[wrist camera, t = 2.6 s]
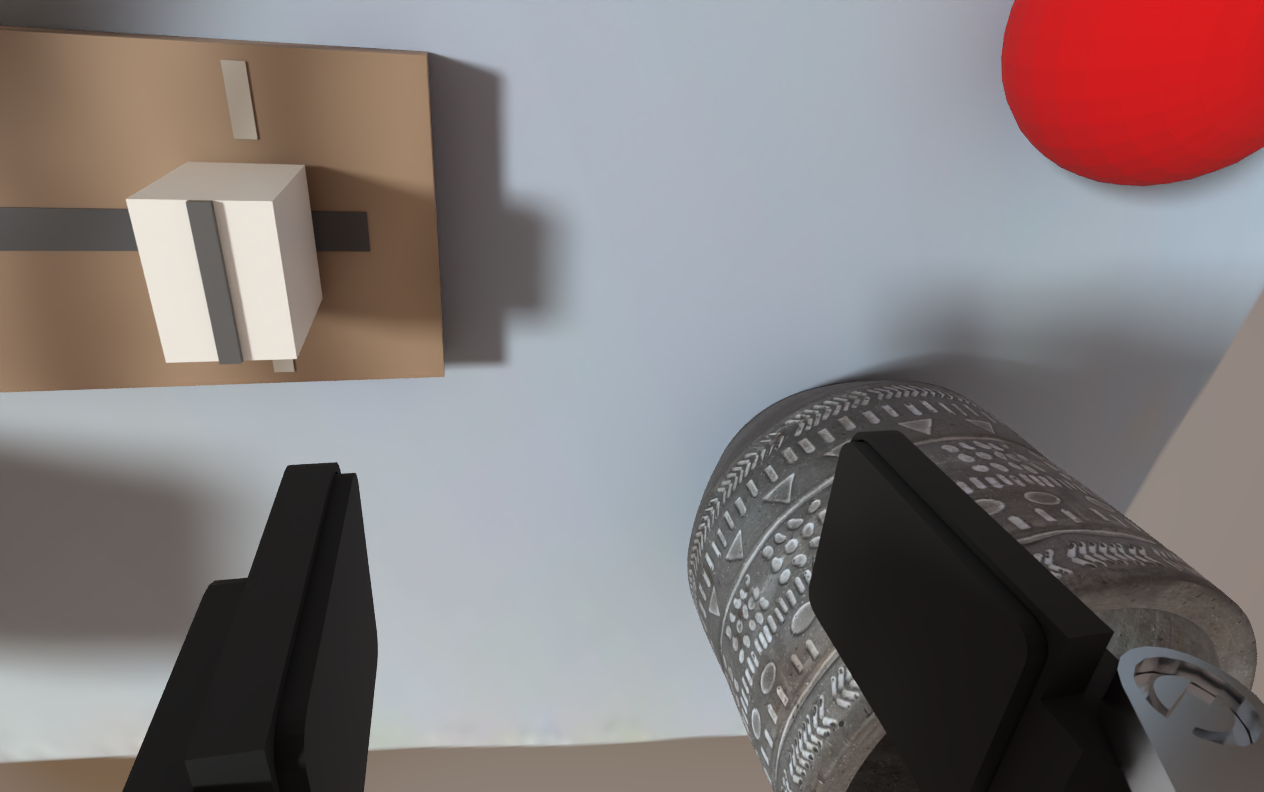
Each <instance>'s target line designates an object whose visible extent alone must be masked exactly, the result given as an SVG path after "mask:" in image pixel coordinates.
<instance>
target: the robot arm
mask: <svg viewBox="0 0 1264 792" xmlns="http://www.w3.org/2000/svg"><path fill="white" fill-rule="evenodd" d="M809 600H810V605H811V608H812V610H813V612H814V614H815V616H816V617H817V619H818V621H819V622H820V624H821V626H822V627H823V629H824V631H825V632H826V634H827V636H828V637H829V639H830V640H831V642H832V644H833V645H834V647H835V649H836V650H837V652H838V654H839V655H840V657H841V659H842V660H843V662H844V664H845V665H846V667H847V669H848V670H849V672H850V674H851V675H852V677H853V678H854V680H855V682H856V683H857V685H858V687H859V688H860V690H861V692H862V693H863V695H864V697H865V698H866V700H867V702H868V703H869V705H870V707H871V708H872V710H873V712H874V713H875V715H876V716H877V718H878V720H879V721H880V723H881V725H882V726H883V728H884V730H885V731H886V733H887V735H888V736H889V738H890V740H891V741H892V743H893V745H894V746H895V748H896V749H897V751H898V753H899V754H900V756H901V758H902V759H903V761H904V763H905V764H906V766H907V768H908V769H909V771H910V773H911V774H912V776H913V778H914V779H915V781H916V783H917V784H918V786H919V787H920V789H921V791H922V792H1264V704H1263V703H1262V701H1261V700H1260V699H1259V698H1258V697H1257V696H1256V695H1255V694H1254V693H1253V692H1252V691H1250V690H1249V689H1248V688H1247V687H1245V686H1244V685H1243V684H1242V683H1240V682H1239V681H1238V680H1237V679H1235V678H1234V677H1232V676H1230V675H1229V674H1227V673H1225V672H1224V671H1222V670H1220V669H1219V668H1217V667H1215V666H1214V665H1212V664H1210V663H1208V662H1205V661H1203V660H1201V659H1198V658H1196V657H1194V656H1191V655H1189V654H1186V653H1183V652H1179V651H1175V650H1172V649H1168V648H1162V647H1149V646H1144V647H1139V648H1134V649H1130V650H1129V651H1127V652H1126V653H1125V654H1124V655H1122V656H1121V657H1120V659H1119V660H1118V659H1117V658H1116V657H1115V656H1114V655H1113V654H1112V653H1111V652H1110V651H1109V650H1108V649H1107V646H1108V644H1109V642H1110V640H1111V638H1112V636H1113V634H1114V631H1113V630H1112V629H1111V628H1110V627H1109V626H1108V625H1106V624H1105V623H1104V622H1103V621H1102V620H1101V619H1100V618H1099V617H1098V616H1097V615H1096V614H1095V613H1094V612H1093V611H1092V610H1090V609H1089V608H1088V607H1087V606H1086V605H1085V604H1084V603H1083V602H1082V601H1081V600H1080V599H1079V598H1078V597H1077V596H1076V595H1074V594H1073V593H1072V592H1071V591H1070V590H1069V589H1068V588H1067V587H1066V586H1065V585H1064V584H1063V583H1062V582H1061V581H1060V580H1058V579H1057V578H1056V577H1055V576H1054V575H1053V574H1052V573H1051V572H1050V571H1049V570H1048V569H1047V568H1046V567H1045V566H1043V565H1042V564H1041V563H1040V562H1039V561H1038V560H1037V559H1036V558H1035V557H1034V556H1033V555H1032V554H1031V553H1030V552H1029V551H1027V550H1026V549H1025V548H1024V547H1023V546H1022V545H1021V544H1020V543H1019V542H1018V541H1017V540H1016V539H1015V538H1014V537H1013V536H1011V535H1010V534H1009V533H1008V532H1007V531H1006V530H1005V529H1004V528H1003V527H1002V526H1001V525H1000V524H999V523H998V522H997V521H995V520H994V519H993V518H992V517H991V516H990V515H989V514H988V513H987V512H986V511H985V510H984V509H983V508H982V507H981V506H979V505H978V504H977V503H976V502H975V501H974V500H973V499H972V498H971V497H970V496H969V495H968V494H967V493H966V492H965V491H963V490H962V489H961V488H960V487H959V486H958V485H957V484H956V483H955V482H954V481H953V480H952V479H951V478H950V477H949V476H947V475H946V474H945V473H944V472H943V471H942V470H941V469H940V468H939V467H938V466H937V465H936V464H935V463H934V462H933V461H931V460H930V459H929V458H928V457H927V456H926V455H925V454H924V453H923V452H922V451H921V450H920V449H919V448H918V447H916V446H915V445H914V444H913V443H912V442H911V441H910V440H909V439H908V438H907V437H906V436H905V435H904V434H903V433H901V432H899V431H898V430H882V431H865V432H858V433H856V434H855V435H854V436H853V437H852V439H851V441H850V442H848V443H846V444H844V445H843V446H842V448H841V450H840V453H839V458H838V462H837V466H836V471H835V475H834V479H833V484H832V488H831V492H830V497H829V501H828V505H827V510H826V514H825V518H824V523H823V527H822V531H821V536H820V540H819V544H818V549H817V553H816V557H815V562H814V566H813V570H812V575H811V579H810V583H809ZM377 658H378V642H377V629H376V621H375V613H374V605H373V597H372V589H371V581H370V573H369V565H368V557H367V549H366V541H365V533H364V525H363V517H362V508H361V500H360V492H359V484H358V478H357V475H356V473H347V474H341V472H340V468H339V465H338V463H337V462H335V463H318V464H300V465H289V466H287V468H286V470H285V472H284V475H283V478H282V480H281V483H280V486H279V489H278V492H277V495H276V498H275V501H274V503H273V506H272V509H271V512H270V515H269V518H268V521H267V524H266V526H265V529H264V532H263V535H262V538H261V541H260V544H259V547H258V550H257V552H256V555H255V558H254V561H253V564H252V567H251V570H250V573H249V575H248V578H240V579H229V580H218V581H214V582H213V583H211V584H210V585H209V586H208V588H207V590H206V592H205V593H204V595H203V597H202V600H201V602H200V605H199V607H198V610H197V612H196V614H195V617H194V619H193V622H192V624H191V627H190V629H189V631H188V634H187V636H186V639H185V641H184V644H183V646H182V648H181V651H180V653H179V656H178V658H177V661H176V663H175V665H174V668H173V670H172V673H171V675H170V678H169V680H168V682H167V685H166V687H165V690H164V692H163V695H162V697H161V699H160V702H159V704H158V707H157V709H156V711H155V714H154V716H153V719H152V721H151V724H150V726H149V728H148V731H147V733H146V736H145V738H144V741H143V743H142V745H141V748H140V750H139V753H138V755H137V758H136V760H135V762H134V765H133V767H132V770H131V772H130V775H129V777H128V779H127V782H126V784H125V787H124V789H123V792H364V784H365V774H366V765H367V764H366V763H367V754H368V746H369V736H370V727H371V717H372V708H373V698H374V689H375V679H376V670H377Z"/></svg>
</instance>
